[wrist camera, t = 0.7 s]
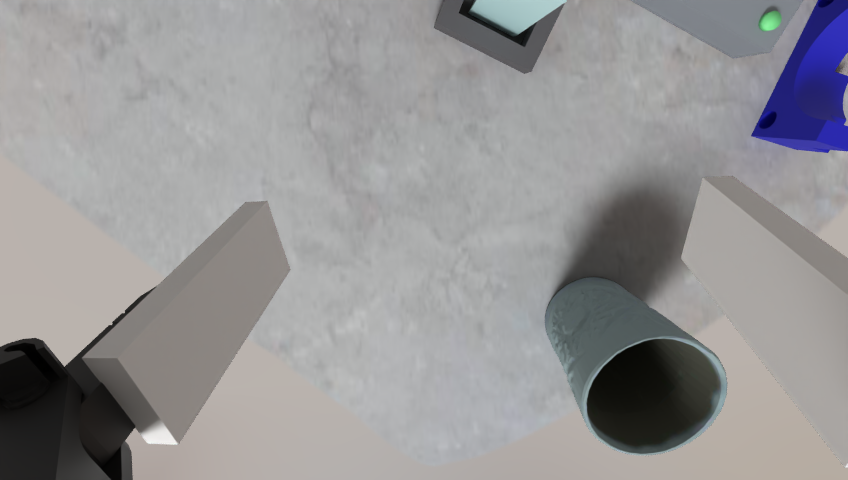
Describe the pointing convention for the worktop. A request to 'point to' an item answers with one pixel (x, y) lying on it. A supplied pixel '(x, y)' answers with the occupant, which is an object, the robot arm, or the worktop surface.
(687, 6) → the block
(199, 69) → the worktop surface
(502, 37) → the frame
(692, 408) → the grey-green tumbler cup
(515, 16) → the capped teal pillar
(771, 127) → the cable clip
